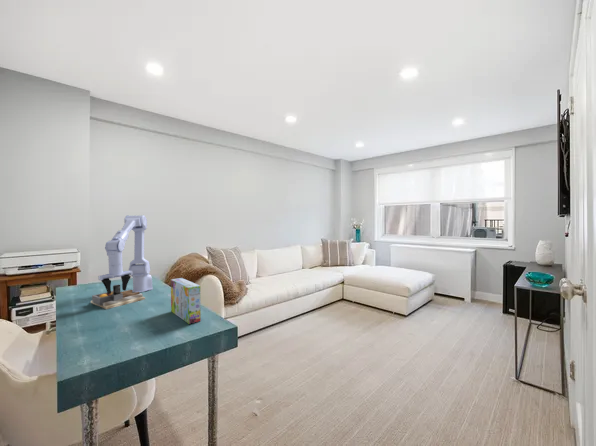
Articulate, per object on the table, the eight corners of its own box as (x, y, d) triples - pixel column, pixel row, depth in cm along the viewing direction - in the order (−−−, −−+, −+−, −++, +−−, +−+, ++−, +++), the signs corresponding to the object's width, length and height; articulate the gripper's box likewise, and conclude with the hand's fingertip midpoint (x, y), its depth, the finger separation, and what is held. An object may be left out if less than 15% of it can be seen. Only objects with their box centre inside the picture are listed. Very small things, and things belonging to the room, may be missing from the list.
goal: (107, 298, 145) (106, 292, 145) (114, 301, 140) (114, 295, 140) (92, 302, 140) (92, 295, 140) (100, 305, 135) (99, 298, 135)
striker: (113, 298, 145) (112, 282, 145) (123, 301, 140) (122, 284, 139) (104, 300, 142) (104, 283, 142) (114, 303, 136) (113, 286, 136)
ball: (95, 299, 139) (103, 302, 142) (98, 300, 137) (106, 304, 139) (100, 292, 141) (108, 295, 143) (104, 293, 138) (111, 296, 141)
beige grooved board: (128, 293, 157) (128, 288, 157) (145, 299, 147) (144, 293, 147) (90, 302, 142) (90, 296, 142) (106, 309, 132) (106, 303, 132)
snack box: (202, 321, 116) (201, 285, 115) (188, 325, 112) (187, 287, 112) (182, 308, 132) (181, 276, 131) (170, 311, 128) (169, 279, 127)
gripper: (102, 267, 130) (103, 296, 130) (135, 262, 142) (136, 289, 142) (96, 266, 134) (97, 294, 134) (128, 261, 146) (129, 287, 146)
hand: (116, 291), depth 139 cm, fingers open, 6 cm apart
